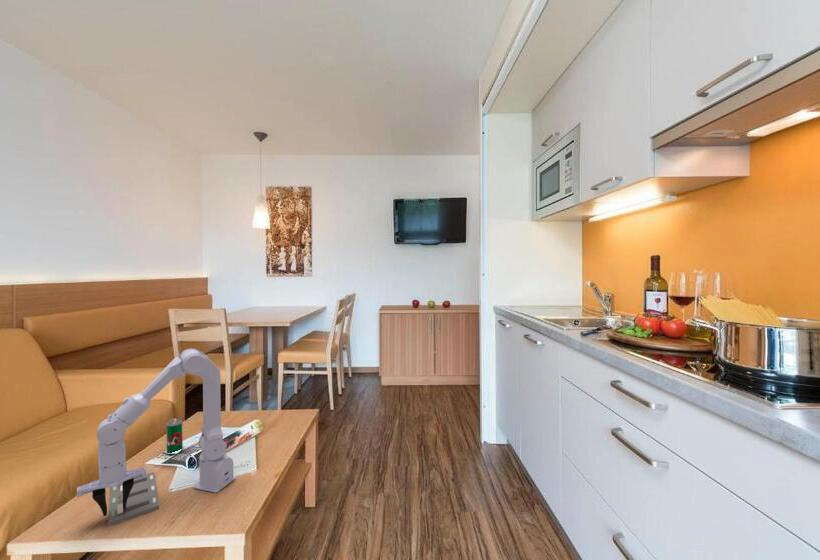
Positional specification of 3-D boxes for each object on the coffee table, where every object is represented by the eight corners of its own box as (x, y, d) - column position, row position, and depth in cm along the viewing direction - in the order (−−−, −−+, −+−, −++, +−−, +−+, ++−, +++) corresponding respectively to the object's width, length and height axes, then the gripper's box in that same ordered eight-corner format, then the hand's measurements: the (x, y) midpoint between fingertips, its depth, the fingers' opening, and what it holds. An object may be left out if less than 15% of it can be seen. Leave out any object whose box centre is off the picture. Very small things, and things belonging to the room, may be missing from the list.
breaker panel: (154, 474, 117) (154, 462, 117) (158, 508, 100) (158, 494, 100) (111, 487, 110) (111, 474, 110) (108, 526, 93) (108, 511, 93)
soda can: (185, 449, 134) (185, 418, 134) (175, 456, 129) (175, 424, 129) (173, 448, 135) (173, 417, 134) (163, 455, 129) (162, 423, 129)
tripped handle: (123, 507, 99) (122, 497, 99) (122, 512, 96) (122, 503, 96) (117, 508, 98) (117, 499, 98) (117, 514, 96) (117, 504, 96)
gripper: (74, 479, 88) (77, 531, 89) (146, 459, 98) (147, 506, 98) (77, 467, 94) (79, 516, 94) (145, 449, 103) (146, 494, 103)
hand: (114, 510), depth 96 cm, fingers open, 3 cm apart
